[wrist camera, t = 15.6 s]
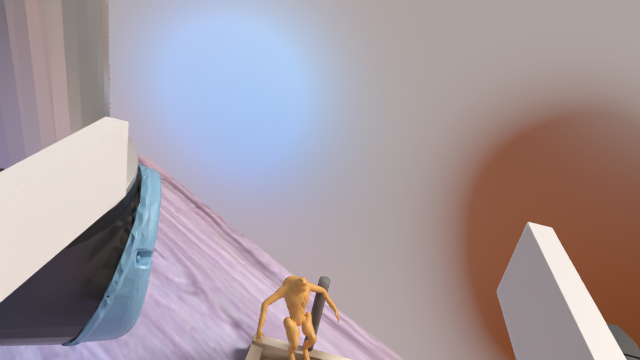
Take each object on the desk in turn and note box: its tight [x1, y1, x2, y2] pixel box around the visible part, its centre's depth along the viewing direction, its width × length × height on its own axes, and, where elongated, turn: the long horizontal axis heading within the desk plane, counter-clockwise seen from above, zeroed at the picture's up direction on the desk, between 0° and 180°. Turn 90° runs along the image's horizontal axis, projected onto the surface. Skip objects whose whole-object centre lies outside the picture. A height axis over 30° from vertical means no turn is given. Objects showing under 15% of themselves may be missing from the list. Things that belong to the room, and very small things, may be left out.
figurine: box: [256, 276, 339, 360], centre depth 43 cm, size 8×6×12 cm
